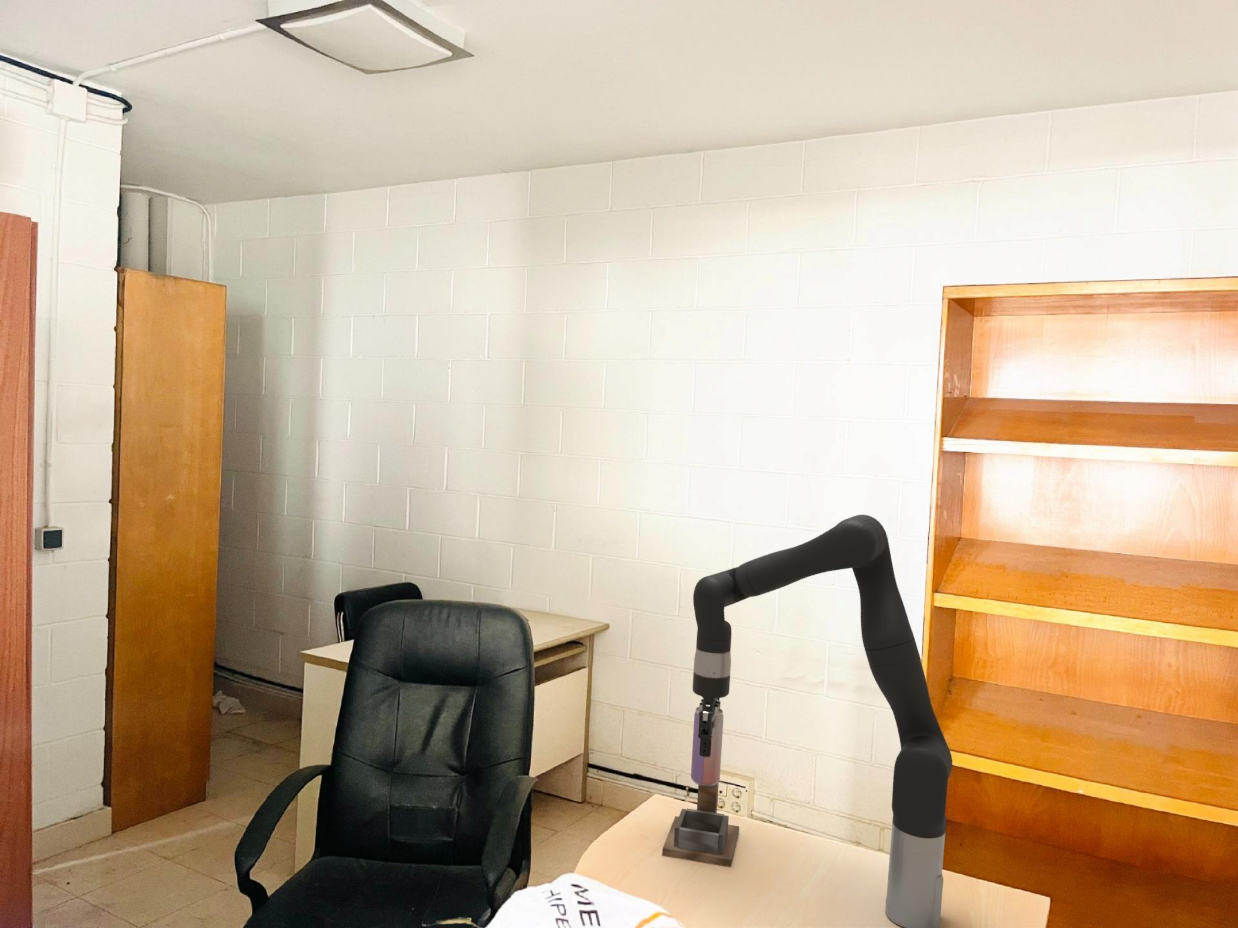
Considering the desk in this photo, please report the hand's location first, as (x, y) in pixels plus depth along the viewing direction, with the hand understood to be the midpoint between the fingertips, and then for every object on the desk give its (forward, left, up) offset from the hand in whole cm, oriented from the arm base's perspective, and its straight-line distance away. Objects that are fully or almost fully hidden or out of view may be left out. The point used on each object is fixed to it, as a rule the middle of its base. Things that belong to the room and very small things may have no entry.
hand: (707, 749), depth 189 cm
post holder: (0, -2, -21) cm, 21 cm away
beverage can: (0, 0, -7) cm, 7 cm away
